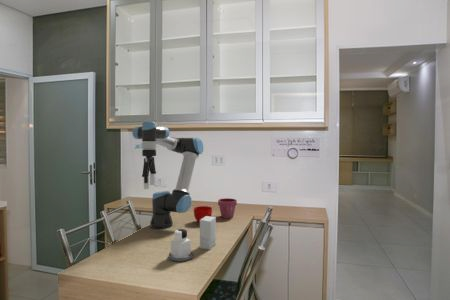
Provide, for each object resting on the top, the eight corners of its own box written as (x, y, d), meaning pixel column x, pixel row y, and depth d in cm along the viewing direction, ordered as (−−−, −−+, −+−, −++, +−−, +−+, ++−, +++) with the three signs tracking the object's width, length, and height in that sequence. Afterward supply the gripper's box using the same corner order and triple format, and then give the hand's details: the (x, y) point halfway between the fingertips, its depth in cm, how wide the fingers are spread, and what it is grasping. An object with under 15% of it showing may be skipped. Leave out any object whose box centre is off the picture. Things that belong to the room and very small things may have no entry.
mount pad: (170, 252, 141) (170, 249, 140) (194, 251, 141) (194, 249, 141) (166, 262, 129) (166, 259, 129) (192, 261, 129) (192, 259, 129)
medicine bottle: (181, 250, 140) (181, 227, 140) (191, 253, 135) (191, 229, 135) (170, 254, 134) (170, 230, 134) (180, 258, 130) (180, 233, 130)
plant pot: (232, 213, 218) (232, 197, 217) (239, 217, 205) (239, 200, 204) (215, 215, 212) (215, 198, 212) (222, 219, 199) (222, 202, 199)
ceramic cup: (201, 227, 181) (201, 212, 181) (190, 221, 195) (190, 207, 195) (218, 224, 188) (218, 210, 188) (206, 218, 203) (206, 205, 202)
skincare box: (205, 243, 153) (205, 215, 153) (216, 244, 151) (216, 216, 150) (199, 248, 145) (199, 219, 145) (210, 250, 143) (210, 220, 143)
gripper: (148, 148, 165) (148, 183, 166) (135, 149, 140) (136, 190, 141) (160, 148, 165) (160, 183, 166) (150, 149, 140) (151, 190, 141)
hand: (149, 186), depth 153 cm, fingers open, 13 cm apart
